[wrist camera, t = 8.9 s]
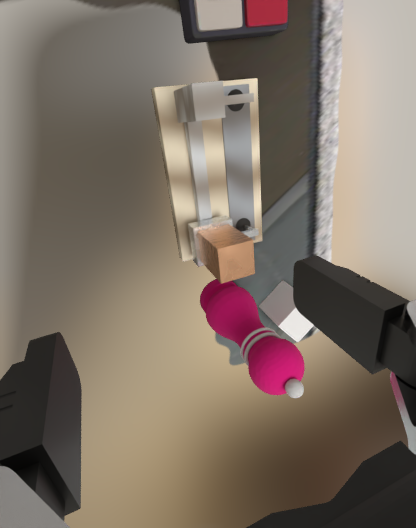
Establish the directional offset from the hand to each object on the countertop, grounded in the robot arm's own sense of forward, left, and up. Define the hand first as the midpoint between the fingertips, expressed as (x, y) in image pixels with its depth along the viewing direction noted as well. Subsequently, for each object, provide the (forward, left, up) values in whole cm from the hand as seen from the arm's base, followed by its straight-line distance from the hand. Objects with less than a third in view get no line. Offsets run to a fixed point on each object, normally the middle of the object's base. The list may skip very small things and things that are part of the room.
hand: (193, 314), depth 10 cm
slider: (+8, +11, -25) cm, 29 cm away
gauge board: (+1, +12, -28) cm, 31 cm away
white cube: (+24, +22, -28) cm, 43 cm away
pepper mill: (+19, +11, -28) cm, 36 cm away
